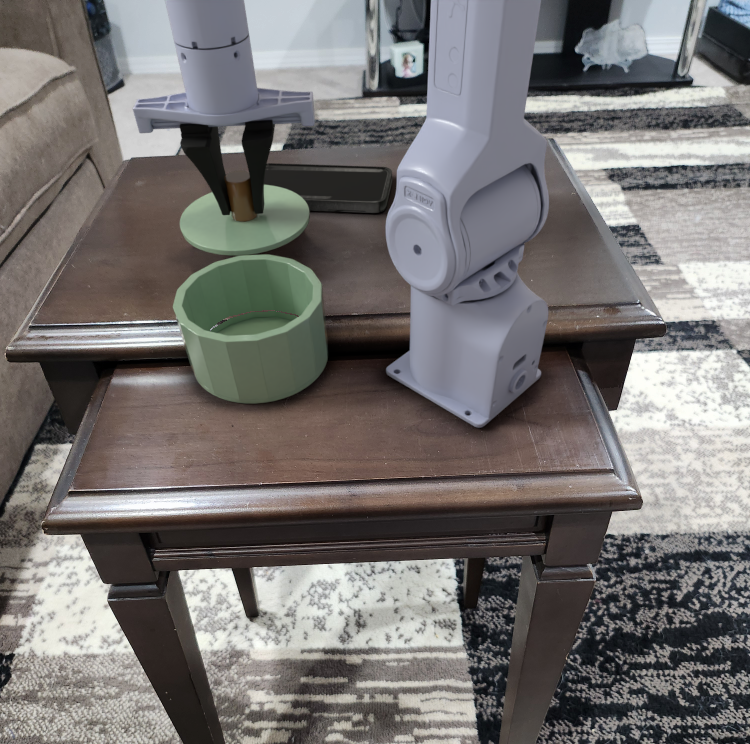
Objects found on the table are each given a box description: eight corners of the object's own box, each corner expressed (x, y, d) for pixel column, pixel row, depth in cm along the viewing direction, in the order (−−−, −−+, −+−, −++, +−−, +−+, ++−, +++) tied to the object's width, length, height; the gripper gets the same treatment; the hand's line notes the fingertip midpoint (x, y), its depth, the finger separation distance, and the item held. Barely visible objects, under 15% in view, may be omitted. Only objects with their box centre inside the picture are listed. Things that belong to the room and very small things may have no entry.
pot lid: (336, 222, 63) (333, 172, 59) (238, 277, 57) (227, 226, 54) (254, 183, 68) (246, 134, 64) (156, 230, 63) (141, 180, 59)
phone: (258, 162, 73) (393, 166, 72) (259, 173, 74) (393, 177, 73) (239, 198, 69) (384, 203, 67) (241, 208, 69) (384, 213, 68)
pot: (356, 353, 54) (352, 290, 50) (253, 424, 50) (238, 362, 45) (267, 301, 59) (256, 239, 55) (165, 361, 54) (144, 299, 50)
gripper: (308, 15, 53) (323, 184, 64) (127, 23, 53) (172, 191, 64) (305, 46, 49) (321, 222, 59) (107, 55, 49) (159, 229, 59)
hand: (243, 209), depth 61 cm, fingers closed on pot lid, 2 cm apart
